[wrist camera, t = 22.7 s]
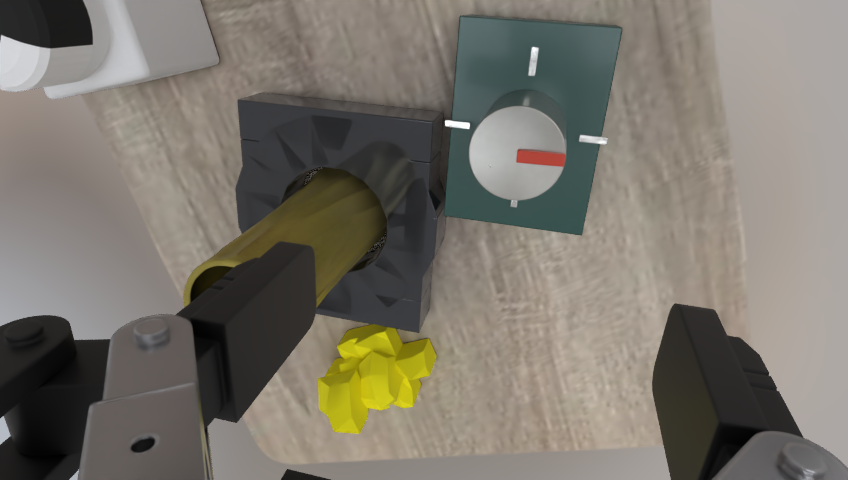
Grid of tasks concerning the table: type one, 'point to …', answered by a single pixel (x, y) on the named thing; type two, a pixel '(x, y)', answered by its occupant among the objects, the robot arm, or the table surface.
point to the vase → (307, 232)
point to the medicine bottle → (99, 43)
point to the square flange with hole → (367, 160)
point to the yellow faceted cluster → (372, 375)
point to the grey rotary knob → (519, 146)
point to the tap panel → (540, 71)
